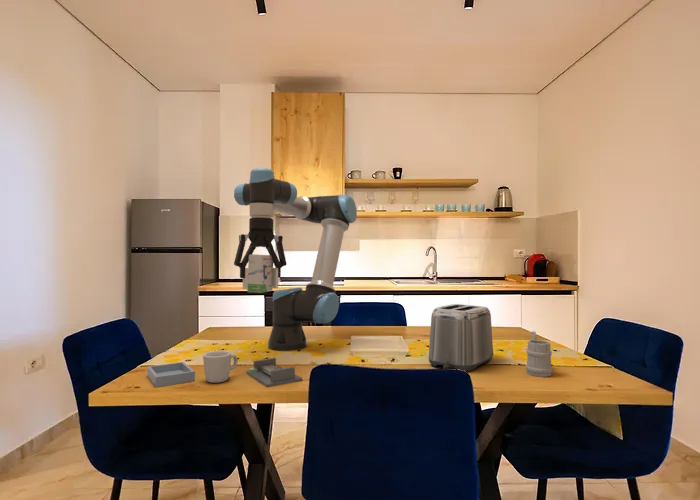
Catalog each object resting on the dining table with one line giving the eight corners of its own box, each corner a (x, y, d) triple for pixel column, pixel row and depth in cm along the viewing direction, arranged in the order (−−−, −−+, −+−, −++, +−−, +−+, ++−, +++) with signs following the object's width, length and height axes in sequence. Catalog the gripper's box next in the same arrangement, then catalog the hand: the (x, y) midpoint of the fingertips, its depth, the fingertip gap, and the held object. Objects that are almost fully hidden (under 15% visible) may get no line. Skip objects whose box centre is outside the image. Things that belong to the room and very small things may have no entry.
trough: (183, 370, 139) (183, 361, 139) (194, 381, 128) (194, 371, 128) (147, 375, 134) (147, 366, 134) (155, 387, 122) (155, 377, 122)
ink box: (258, 290, 144) (259, 254, 144) (273, 291, 142) (273, 254, 143) (246, 292, 135) (247, 254, 136) (261, 293, 134) (262, 254, 134)
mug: (529, 376, 132) (529, 337, 132) (519, 366, 144) (519, 330, 144) (556, 377, 131) (556, 337, 131) (544, 367, 143) (544, 330, 143)
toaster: (500, 359, 154) (500, 305, 154) (463, 378, 131) (463, 314, 131) (456, 352, 165) (456, 301, 165) (415, 368, 142) (415, 309, 142)
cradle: (279, 368, 142) (279, 356, 142) (302, 380, 128) (302, 367, 128) (246, 373, 136) (246, 361, 136) (267, 387, 122) (267, 373, 122)
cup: (228, 373, 136) (228, 347, 136) (244, 378, 131) (244, 351, 131) (197, 381, 128) (197, 353, 128) (213, 386, 123) (213, 358, 123)
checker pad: (272, 368, 137) (272, 364, 137) (286, 375, 129) (286, 371, 129) (260, 370, 135) (260, 366, 135) (274, 377, 127) (274, 373, 127)
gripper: (288, 220, 148) (287, 287, 148) (223, 216, 137) (222, 288, 136) (297, 218, 142) (297, 288, 141) (230, 214, 130) (229, 290, 130)
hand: (260, 288), depth 139 cm, fingers closed on ink box, 9 cm apart
